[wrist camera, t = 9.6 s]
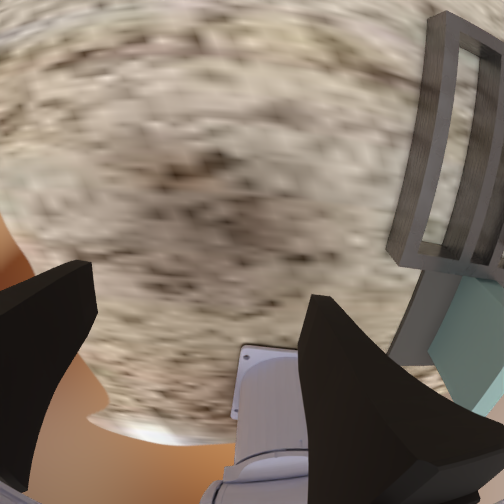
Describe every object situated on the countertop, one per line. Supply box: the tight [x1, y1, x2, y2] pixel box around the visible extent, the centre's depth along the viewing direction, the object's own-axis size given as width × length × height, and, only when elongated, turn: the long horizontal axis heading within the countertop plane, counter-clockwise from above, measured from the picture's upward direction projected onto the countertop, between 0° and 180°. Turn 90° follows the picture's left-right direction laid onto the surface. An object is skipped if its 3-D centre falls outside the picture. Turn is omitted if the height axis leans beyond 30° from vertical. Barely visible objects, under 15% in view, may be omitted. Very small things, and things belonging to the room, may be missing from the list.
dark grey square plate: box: [387, 270, 504, 366], centre depth 22 cm, size 10×10×1 cm
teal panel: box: [428, 276, 504, 417], centre depth 18 cm, size 8×2×8 cm, turn 172°
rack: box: [386, 10, 504, 282], centre depth 16 cm, size 16×13×2 cm
